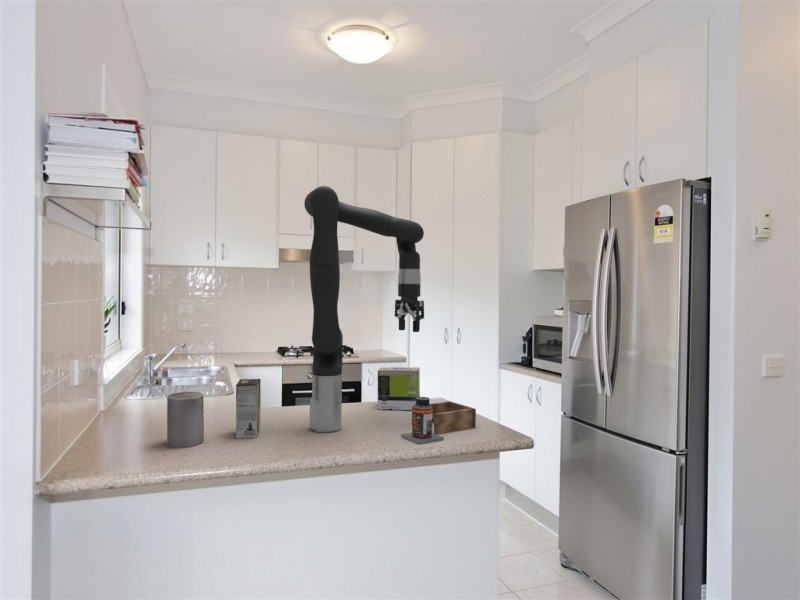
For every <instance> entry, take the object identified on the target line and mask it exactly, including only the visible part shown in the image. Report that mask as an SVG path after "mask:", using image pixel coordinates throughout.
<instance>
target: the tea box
mask: <svg viewBox="0 0 800 600" xmlns="http://www.w3.org/2000/svg"><path fill="white" fill-rule="evenodd" d="M420 376H421V375H420V367H418V366H417V367H416V366H408V367H407V366H381V367H380V368H379V369H378V370H377V410H383V409H385V410H386V409H387V410H388V409H392V410H393V411H394V410H395V411H399V410H400V411H412V406H414V405H415V404H416V398H417V397H421V395H420V394H421V392H420V390H421V389H420V387H421V386H420ZM387 410H386V411H387ZM388 411H389V410H388Z"/></svg>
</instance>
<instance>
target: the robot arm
mask: <svg viewBox="0 0 800 600" xmlns="http://www.w3.org/2000/svg"><path fill="white" fill-rule="evenodd" d="M304 209H305V211H306V212H307V214H309V216H311V217H312V219H313V220H312V221H313V236H312V238H313V239H312V241H311V242H312V243H311V248H310V254H309V280H310V281H309V282H310V290H311V299H312V300H311V301H312V305H313V319H312V320H313V321H312V333H311V342H312V345H313V356H312V357H313V359H312V367H311V368H312V370H311V371H312V373H311V374H312V379H311V380H312V382H311V383H312V384H311V386H312V389H311V390H312V393H311V394H312V395H311V397H310V398H309V429H310V430H313V431H314V432H317V433H329V432H336V431H340V430H341V429H342V423H343V422H342V420H343V419H342V412H343V410H342V409H343V408H342V406H343V405H342V403H343V400H342V397H343V393H342V392H343V391H342V389H343V386H342V385H343V353H344V352H343V349H344V348H343V347H344V345H343V344H344V343H343V342H344V341H343V339H344V338H343V332H342V330H341V328H340V323H339V315H338V314H339V313H338V303H339V295H340V283H341V282H340V281H341V274H340V272H341V271H340V269H341V268H340V254H339V251H340V250H339V239H338V238H339V237H338V222H339V223H341V224H347V225H350V226H354V227H356V228H360V229H363V230H366V231H368V232H371V233H374V234H377V235H379V236H383V237H388V238H390V237H392V238H395V239H396V246H397V252H398V256H399V258H398V259H399V260H398V276H397V296H398V298H399V297H400V299H395V300H394V317H395V318H397V319H398V330H399V331H406V317H407V315H408V314H409V316H411V319H412V332H413V333H419V332H420V327H421V326H420V325H421V324H420V322H421V320H424V319H425V301H424V300H419V299H418V298H420V297H421V286H422V285H421V284H422V283H421V281H422V279H421V278H422V277H421V255H420V253H419V252H418V251H417V249H416V248H417V246H416V243H417V244H418V243H419V242H420V241H422V239H424V236H425V231H424V228H423V227H422V226H421V224H419V223H418V222H416V221H413V220H409V219H404V218H399V217H395V216H392V215H390V214H387V213H384V212H381V211H378V210H375V209H371V208H366V207H360V206H354V205H352V204H348V203H345V202H342V201H340V200H339V197H338V194H337V192H336V191H335V190H334V189H333V188H332V187H330V186H327V185H321V186H318V187H316V188H314V189H313V190H312V191H310V192H309V193H308V194H307V195H306V196H305V199H304Z"/></svg>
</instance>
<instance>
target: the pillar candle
mask: <svg viewBox="0 0 800 600" xmlns="http://www.w3.org/2000/svg"><path fill="white" fill-rule="evenodd" d="M166 397H167V398H166V399H167V401H166V403H167V404H166V405H167V406H166V407H167V408H166V416H167V417H166V421H167V422H166V423H167V425H166V426H167V427H166V430H167V433H166V435H167V436H166V438H167V440H166V441H167V443H166V445H167V446H168V447H170V448H175V449H178V448H179V449H181V448H189V447H190V448H191V447H193V446H194V447H195V446H199V445H201V444H203V443H204V441H205V440H204V438H205V436H204V435H205V430H204V429H205V427H204V426H205V425H204V424H205V423H204V421H205V420H204V419H205V418H204V412H205V410H204V393H202V392H198V391H187V390H185V391H182V392H174V393H170V394H168V395H167V396H166Z"/></svg>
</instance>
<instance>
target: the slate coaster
mask: <svg viewBox="0 0 800 600" xmlns="http://www.w3.org/2000/svg"><path fill="white" fill-rule="evenodd" d="M400 436H401V437H400V438H402V439H405V440H408V442H409V441H410V442H412V443H414V444H417V445H423V444H428V443H434V442H439V441H440V442H441V441H444V439H445V438H444V437H443V436H441V435H440V434H435V433H434V432H432V436H431V437H428V438H418V437H415V436H413V435H412V432H407V433H402V434H401V435H400Z"/></svg>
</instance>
